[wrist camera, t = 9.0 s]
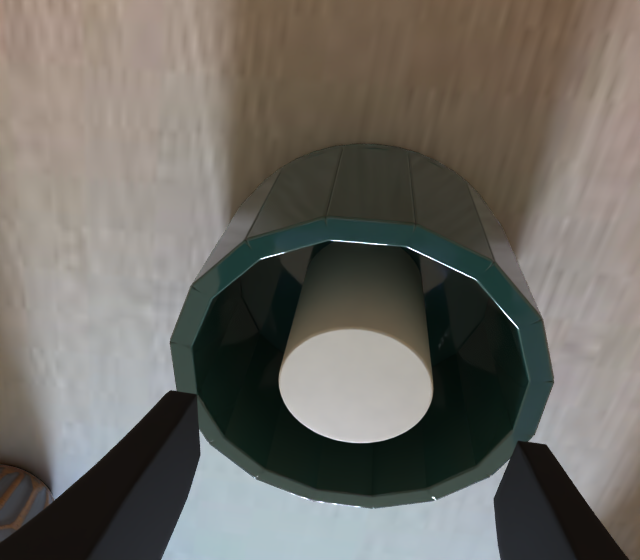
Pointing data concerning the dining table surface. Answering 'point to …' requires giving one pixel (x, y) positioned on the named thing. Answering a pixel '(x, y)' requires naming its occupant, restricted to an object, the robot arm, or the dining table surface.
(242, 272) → the dark green bowl
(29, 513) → the vase
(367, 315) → the candle
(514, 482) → the robot arm
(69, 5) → the dining table surface
